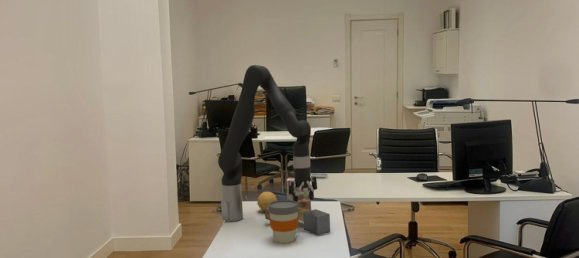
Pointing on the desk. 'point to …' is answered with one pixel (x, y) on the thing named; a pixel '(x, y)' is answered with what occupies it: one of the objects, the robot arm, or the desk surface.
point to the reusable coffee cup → (284, 220)
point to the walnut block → (301, 203)
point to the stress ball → (265, 200)
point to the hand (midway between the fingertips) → (303, 201)
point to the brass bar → (301, 213)
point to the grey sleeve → (316, 222)
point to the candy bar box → (301, 194)
